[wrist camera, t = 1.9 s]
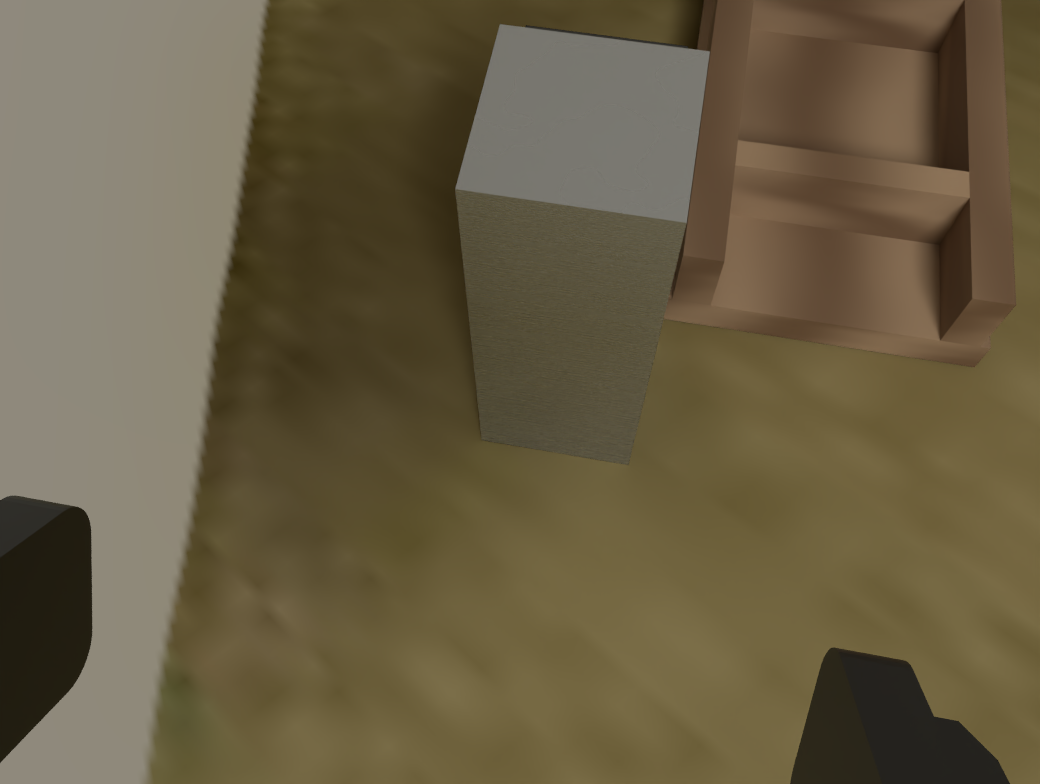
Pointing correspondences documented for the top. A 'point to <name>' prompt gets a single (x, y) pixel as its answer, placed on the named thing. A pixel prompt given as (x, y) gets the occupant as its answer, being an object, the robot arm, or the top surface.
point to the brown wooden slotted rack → (852, 176)
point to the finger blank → (574, 231)
